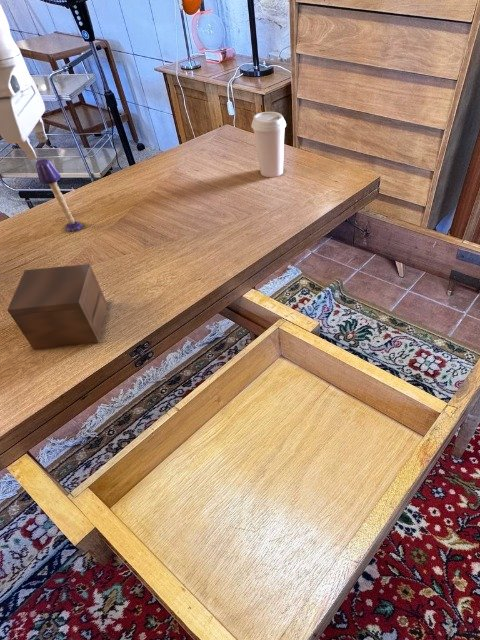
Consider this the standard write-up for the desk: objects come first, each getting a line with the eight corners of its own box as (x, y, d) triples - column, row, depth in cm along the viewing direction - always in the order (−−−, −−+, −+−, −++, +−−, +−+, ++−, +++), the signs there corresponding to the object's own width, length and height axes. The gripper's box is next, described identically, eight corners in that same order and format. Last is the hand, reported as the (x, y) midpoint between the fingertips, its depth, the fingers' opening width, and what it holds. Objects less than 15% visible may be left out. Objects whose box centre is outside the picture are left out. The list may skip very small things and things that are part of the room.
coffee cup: (264, 184, 126) (260, 125, 115) (250, 171, 132) (244, 114, 120) (293, 176, 129) (292, 118, 118) (278, 164, 134) (275, 108, 123)
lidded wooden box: (35, 352, 83) (6, 309, 75) (49, 312, 91) (24, 270, 83) (100, 344, 84) (78, 302, 76) (108, 305, 92) (89, 263, 84)
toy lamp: (74, 236, 110) (43, 166, 97) (59, 233, 111) (26, 163, 98) (87, 227, 113) (58, 157, 100) (72, 224, 114) (41, 155, 101)
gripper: (3, 61, 93) (35, 133, 103) (-30, 91, 80) (11, 170, 91) (33, 58, 93) (62, 131, 104) (6, 88, 80) (43, 167, 91)
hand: (38, 149), depth 97 cm, fingers open, 8 cm apart
